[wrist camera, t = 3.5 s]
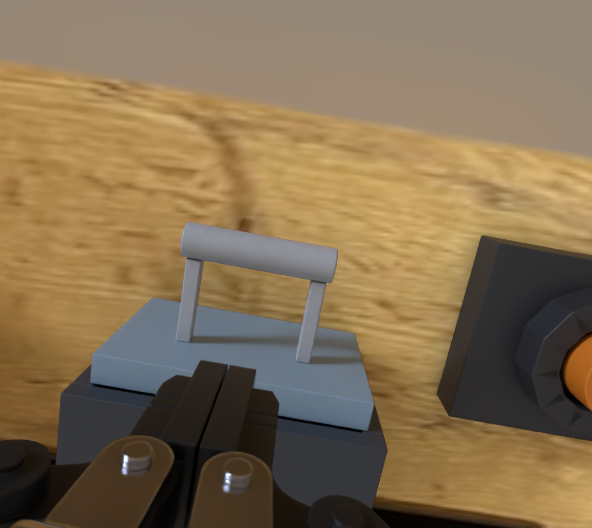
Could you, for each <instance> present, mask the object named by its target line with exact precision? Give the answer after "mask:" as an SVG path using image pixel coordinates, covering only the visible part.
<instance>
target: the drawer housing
mask: <svg viewBox="0 0 592 528" xmlns="http://www.w3.org/2000/svg"><path fill="white" fill-rule="evenodd" d="M91 367H92V364H91V365H90V366H89V367H88V368H87V369H86V370H85V371H84V372H83V373H82V374H81V375H80V376H79V377H78V378H77V379H76V380H75V381H74V382H73V383H71V384H70V385H69V386H68V387H67V388H66V389H65V390H64V391H63V392H62V393H61V400H60V414H59V428H58V442H57V457H56V465H65V464H80V463H88V462H92V461H93V460H94V459H95V458H96V457H97V455H98V454H99V453H100V452H101V451H102V450H103V449H104V448H105V447H106V446H107V445H108V444H110V443H111V442H113V441H115V440H117V439H120V438H123V437H127V436H129V435H130V433H131V432H132V430H133V428H134V427H135V425H136V424H137V422H138V421H139V419H140V417H141V416H142V414H143V413H144V411H145V410H146V408H147V406H149V403H150V402H151V400H152V399H153V397H152V396H146V395H141V394H135V393H129V392H126V391H127V390H128V389H122V388H116V387H110V386H105V385H99V384H93V383H90V379H91ZM386 454H387V446H386V443H385V439H384V436H383V432H382V429H381V425H380V422H379V418H378V415H377V411H376V408H375V404H374V408H373V412H372V416H371V420H370V424H369V428H368V431H364V430H358V429H352V428H347V427H341V426H338V429H337V428H331V427H325V426H319V425H314V424H308V423H302V422H296V421H290V420H285V419H279V418H278V421H277V430H276V439H275V448H274V457H273V466H272V473H273V477H274V480H275V482H276V483H277V485H278V486H279V487H280V489H281V490H282V491H283V492H285V493H286V494H287V495H288V496H290V497H291V498H293V499H295V500H297V501H299V502H301V503H303V504H305V505H308V506H310V507H311V506H312V504H313V503H314V502H315V501H316V500H318V499H320V498H322V497H325V496H329V495H342V496H347V497H351V498H354V499H356V500H358V501H360V502H362V503H364V504H365V505H367V506H368V507H369V508H371V509H372V507H373V504H374V500H375V496H376V492H377V488H378V485H379V481H380V477H381V473H382V469H383V465H384V462H385V458H386ZM187 528H188V526H187Z"/></svg>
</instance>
